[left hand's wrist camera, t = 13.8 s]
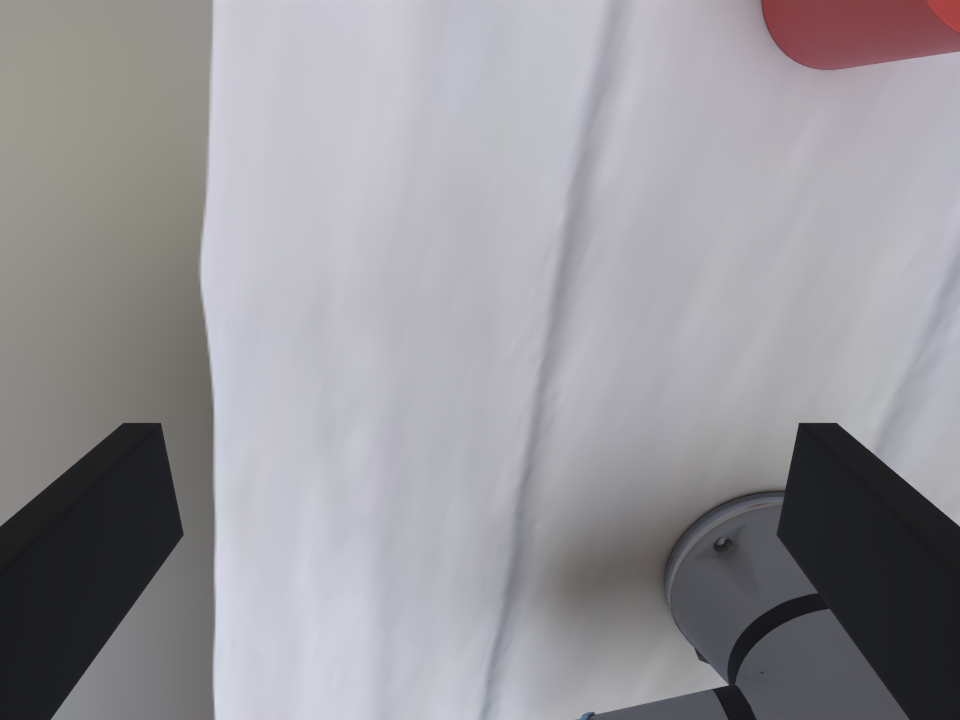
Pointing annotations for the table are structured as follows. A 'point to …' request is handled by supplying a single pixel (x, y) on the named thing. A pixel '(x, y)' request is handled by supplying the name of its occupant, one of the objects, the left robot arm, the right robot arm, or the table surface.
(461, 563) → the table surface
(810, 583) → the left robot arm
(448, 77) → the table surface
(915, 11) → the canister
